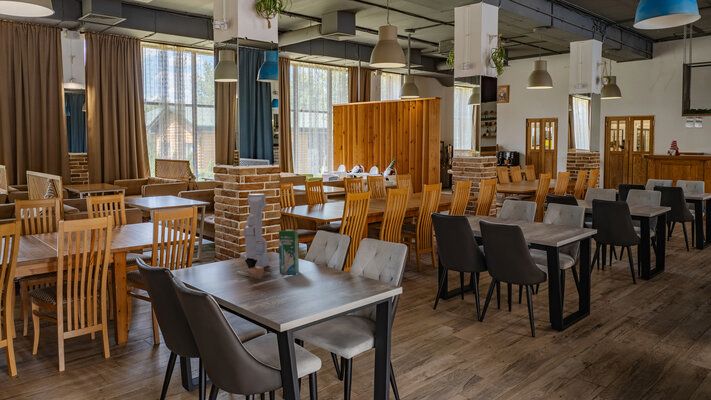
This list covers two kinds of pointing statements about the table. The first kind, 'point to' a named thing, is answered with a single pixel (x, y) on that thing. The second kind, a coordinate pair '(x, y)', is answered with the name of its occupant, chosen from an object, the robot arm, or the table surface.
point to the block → (256, 270)
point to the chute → (254, 274)
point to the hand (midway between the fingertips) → (251, 271)
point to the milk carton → (288, 252)
